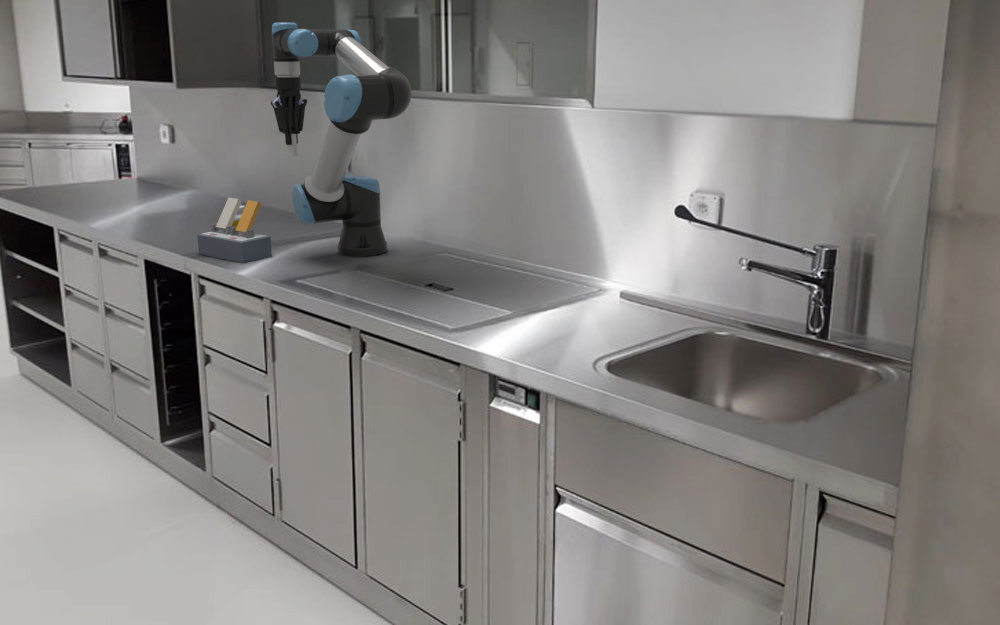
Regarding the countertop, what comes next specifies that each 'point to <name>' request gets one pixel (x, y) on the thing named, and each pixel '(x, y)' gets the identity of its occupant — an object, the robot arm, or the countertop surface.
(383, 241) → the robot arm
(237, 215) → the pill bottle
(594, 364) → the countertop surface
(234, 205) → the ivory lever
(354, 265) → the countertop surface
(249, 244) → the breaker panel
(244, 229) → the orange lever
